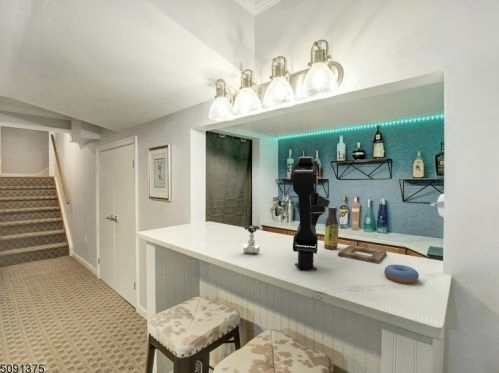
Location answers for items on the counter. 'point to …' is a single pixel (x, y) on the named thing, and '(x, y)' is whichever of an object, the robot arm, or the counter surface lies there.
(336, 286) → the counter surface
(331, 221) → the sauce bottle
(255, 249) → the valve
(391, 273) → the doughnut
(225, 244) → the counter surface
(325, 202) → the robot arm
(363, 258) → the walnut board
